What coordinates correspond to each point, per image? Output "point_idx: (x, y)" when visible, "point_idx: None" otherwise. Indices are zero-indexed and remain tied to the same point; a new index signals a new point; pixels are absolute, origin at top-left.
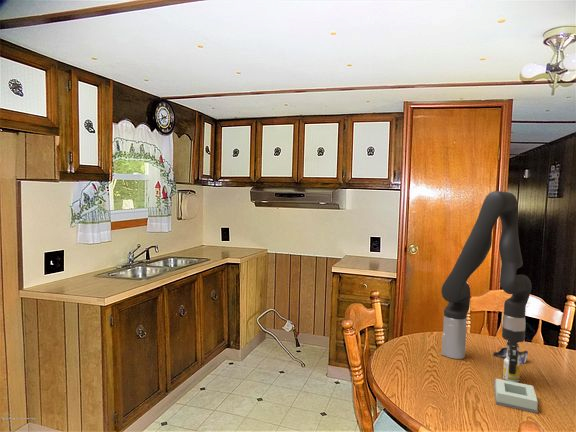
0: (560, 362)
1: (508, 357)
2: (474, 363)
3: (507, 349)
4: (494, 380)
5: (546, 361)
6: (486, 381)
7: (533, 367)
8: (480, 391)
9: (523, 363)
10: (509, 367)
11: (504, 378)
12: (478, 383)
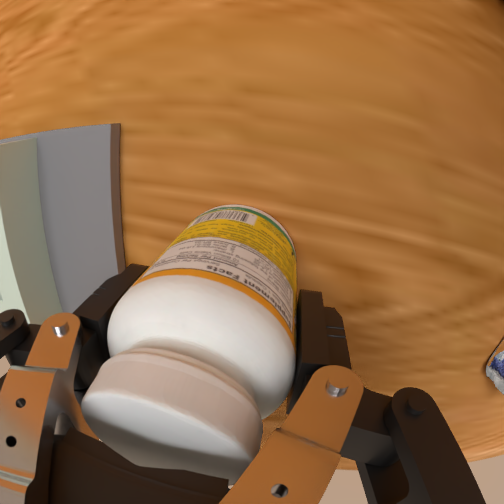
0: (470, 449)
1: (104, 369)
2: (454, 31)
3: (229, 494)
4: (108, 127)
5: (486, 425)
6: (115, 73)
7: (447, 397)
8: (8, 72)
9: (486, 366)
10: (103, 293)
11: (209, 210)
12: (74, 37)
